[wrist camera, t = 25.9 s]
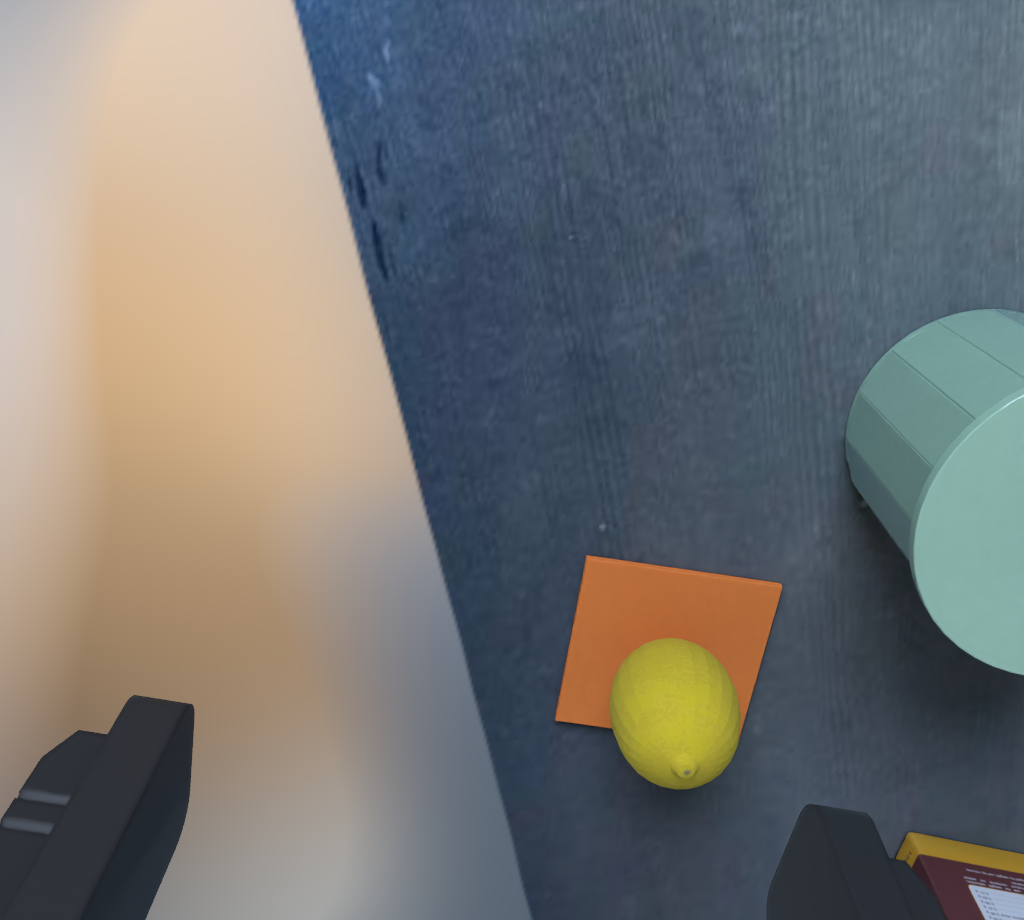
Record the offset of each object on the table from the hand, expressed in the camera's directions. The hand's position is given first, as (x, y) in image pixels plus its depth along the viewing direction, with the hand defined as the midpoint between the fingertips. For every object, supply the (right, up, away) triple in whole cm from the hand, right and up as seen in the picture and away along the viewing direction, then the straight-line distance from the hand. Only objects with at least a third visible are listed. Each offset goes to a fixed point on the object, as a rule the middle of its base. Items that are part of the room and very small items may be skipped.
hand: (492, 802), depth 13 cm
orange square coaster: (+7, -5, +33) cm, 34 cm away
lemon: (+7, -5, +33) cm, 34 cm away
